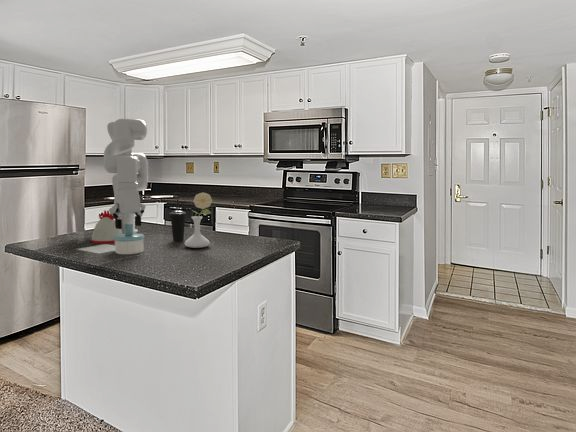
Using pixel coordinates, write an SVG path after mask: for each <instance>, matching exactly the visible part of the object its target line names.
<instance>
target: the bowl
mask: <svg viewBox="0 0 576 432" xmlns="http://www.w3.org/2000/svg"><path fill="white" fill-rule="evenodd" d="M144 244H145V243H144V239H142V240H137V241H116V240H115V242H114V246H115V251H114V252H115V253H116V254H118V255H134V254H135V255H136V256H137V255H138V254H141V253H142V252H144V248H145V247H144Z"/></svg>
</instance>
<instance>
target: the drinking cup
mask: <svg viewBox="0 0 576 432" xmlns="http://www.w3.org/2000/svg"><path fill="white" fill-rule="evenodd" d="M179 207H180V206H179V199H176V210H172V211H171V212H169V215H170V221H171V222H170V223H171V232H172V233H171V234H172V241H173V242H183V241H184V237H185V226H186V214H187V212H185V211H183V210H180V209H179Z"/></svg>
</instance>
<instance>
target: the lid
mask: <svg viewBox="0 0 576 432" xmlns="http://www.w3.org/2000/svg"><path fill="white" fill-rule="evenodd" d="M142 239H143V240H145V234H143V233H138V232H137V233H133V224H131V223H128V224H125V234H119V235H115V236H114V240H116V241H137V240H142Z"/></svg>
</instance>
